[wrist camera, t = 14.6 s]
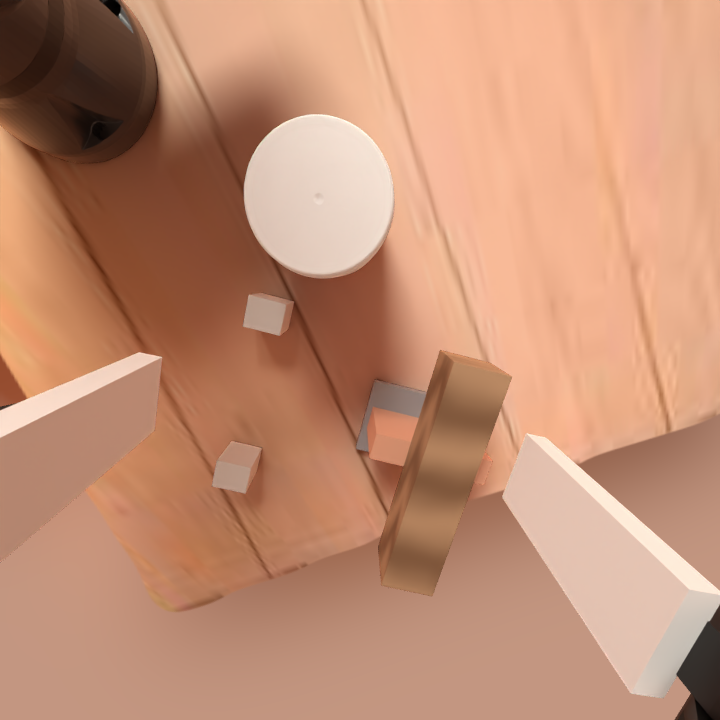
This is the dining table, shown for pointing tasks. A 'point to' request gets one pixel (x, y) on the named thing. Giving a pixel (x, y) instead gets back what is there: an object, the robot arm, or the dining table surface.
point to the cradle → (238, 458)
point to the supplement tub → (319, 196)
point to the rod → (440, 470)
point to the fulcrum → (397, 425)
